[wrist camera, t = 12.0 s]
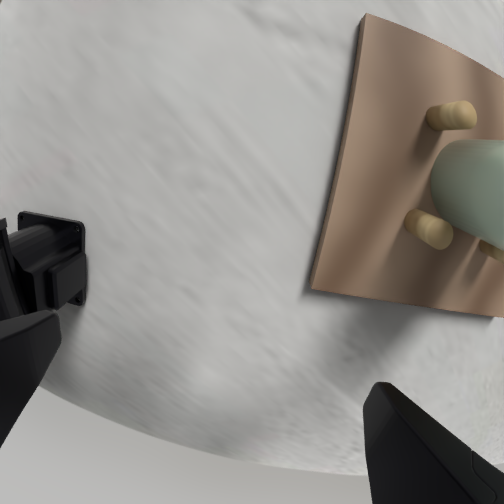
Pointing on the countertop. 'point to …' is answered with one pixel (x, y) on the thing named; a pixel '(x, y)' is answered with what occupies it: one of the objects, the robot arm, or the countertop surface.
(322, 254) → the wooden peg board
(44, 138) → the countertop surface
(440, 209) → the canister
